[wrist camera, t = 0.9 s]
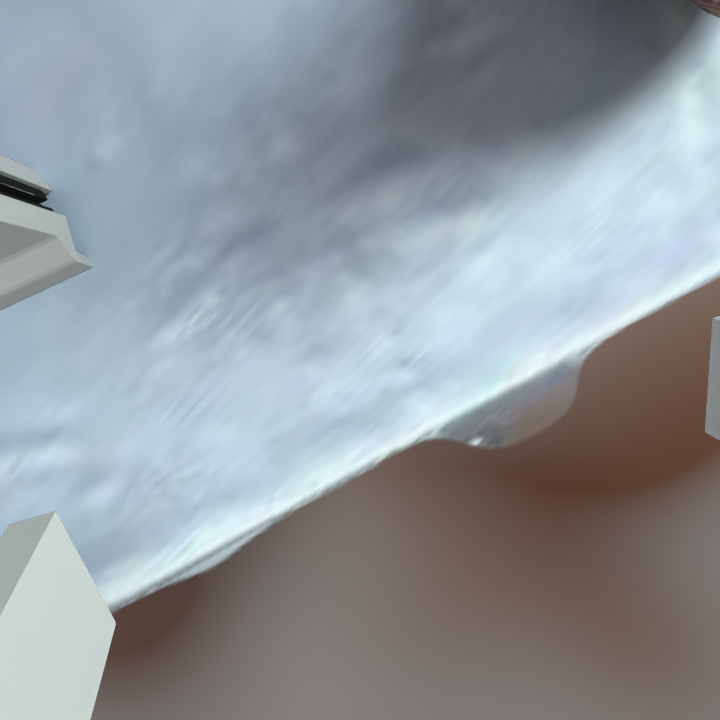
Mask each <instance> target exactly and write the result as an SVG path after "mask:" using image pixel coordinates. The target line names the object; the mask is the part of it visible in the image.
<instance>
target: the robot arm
mask: <svg viewBox="0 0 720 720" xmlns="http://www.w3.org/2000/svg"><path fill="white" fill-rule="evenodd" d="M712 323H713V324H712V337H711V351H710V367H709V380H708V396H707V409H706V425H705V432H706V433H708V434H710V435H712V436H713V437H715V438H717V439H718V440H720V316H719V317H715V318H713V321H712ZM115 625H116V622H115V620H114V619H113V617H112V615H111V613H110V611H109V609H108V607H107V606H106V604H105V602H104V600H103V598H102V596H101V594H100V593H99V591H98V589H97V587H96V585H95V583H94V581H93V580H92V578H91V576H90V574H89V572H88V570H87V568H86V567H85V565H84V563H83V561H82V559H81V557H80V556H79V554H78V552H77V550H76V548H75V546H74V544H73V543H72V541H71V539H70V537H69V535H68V533H67V531H66V530H65V528H64V526H63V524H62V522H61V520H60V519H59V517H58V515H57V513H56V511H54V512H51V513H47V514H44V515H40V516H37V517H34V518H30V519H27V520H23V521H20V522H17V523H13V524H10V525H9V526H8V528H7V529H6V531H5V533H4V534H3V536H2V537H1V539H0V720H90V718H91V715H92V711H93V708H94V703H95V700H96V696H97V692H98V689H99V685H100V681H101V677H102V673H103V670H104V666H105V662H106V659H107V655H108V651H109V647H110V644H111V640H112V636H113V632H114V628H115Z"/></svg>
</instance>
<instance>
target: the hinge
mask: <svg viewBox="0 0 720 720" xmlns="http://www.w3.org/2000/svg"><path fill="white" fill-rule="evenodd" d="M51 191H52V189H51V188H50V187H49V186H48V184H47V183H46V182H45V181H44V180H43V178H42V177H41V176H40V175H39V174H38V173H37V172H36V171H35V170H34V169H31V168H29V167H27V166H24V165H22V164H20V163H18V162H15V161H13V160H11V159H8V158H6V157H4V156H1V155H0V310H2V309H4V308H7V307H9V306H11V305H13V304H15V303H17V302H19V301H22V300H24V299H26V298H28V297H30V296H32V295H34V294H37V293H39V292H41V291H43V290H45V289H47V288H49V287H52V286H54V285H56V284H58V283H60V282H62V281H64V280H67V279H69V278H71V277H73V276H75V275H77V274H79V273H82V272H84V271H86V270H88V269H90V268H92V267H93V265H92V263H91V261H90V258H89V257H87V256H85V255H82V254H80V253H77V252H76V249H75V246H74V243H73V239H72V236H71V233H70V230H69V226H68V223H67V220H66V216H64V215H61V214H58V213H55V212H54V211H53V209H51V208H48V207H45V206H42V205H39V204H40V203H42V202H44V201H46V200H47V197H46V195H45V194H46V193H48V192H51Z"/></svg>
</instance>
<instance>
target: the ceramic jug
mask: <svg viewBox="0 0 720 720" xmlns="http://www.w3.org/2000/svg"><path fill="white" fill-rule="evenodd" d="M691 1H692V2H694V3H695V4H696V5H698V6H699V7H700V8H702V9H703V10H704V11H706V12H708V13H710V14H712V15H715V16H717V17H720V0H691Z"/></svg>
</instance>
